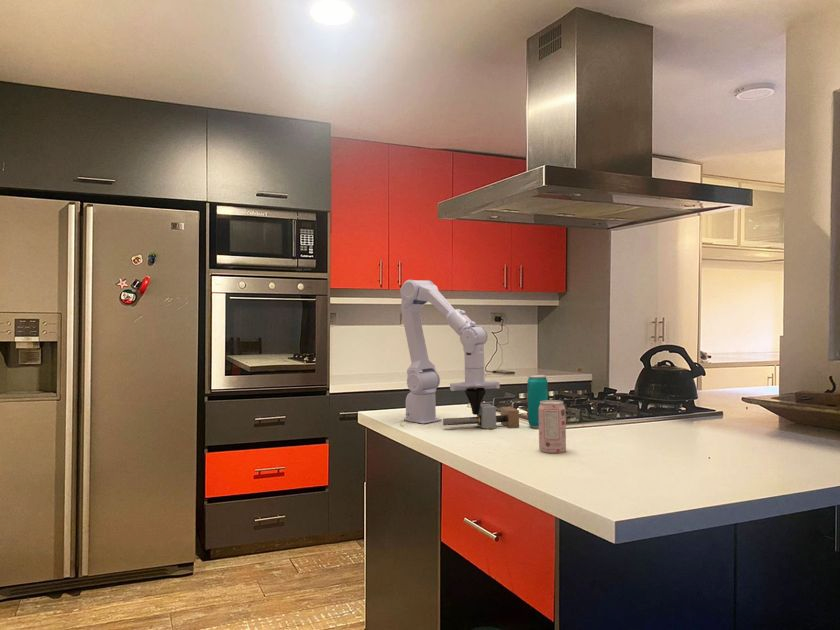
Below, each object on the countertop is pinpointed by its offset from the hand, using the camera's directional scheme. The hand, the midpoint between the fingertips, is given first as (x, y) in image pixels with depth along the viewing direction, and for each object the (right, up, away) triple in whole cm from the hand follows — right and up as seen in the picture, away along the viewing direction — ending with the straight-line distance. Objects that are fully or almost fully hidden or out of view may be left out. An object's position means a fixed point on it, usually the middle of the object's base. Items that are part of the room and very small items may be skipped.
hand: (475, 414), depth 187 cm
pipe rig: (+1, -4, 0) cm, 4 cm away
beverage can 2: (+16, -4, -31) cm, 35 cm away
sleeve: (+3, -4, +1) cm, 5 cm away
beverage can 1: (+18, -4, -1) cm, 19 cm away
